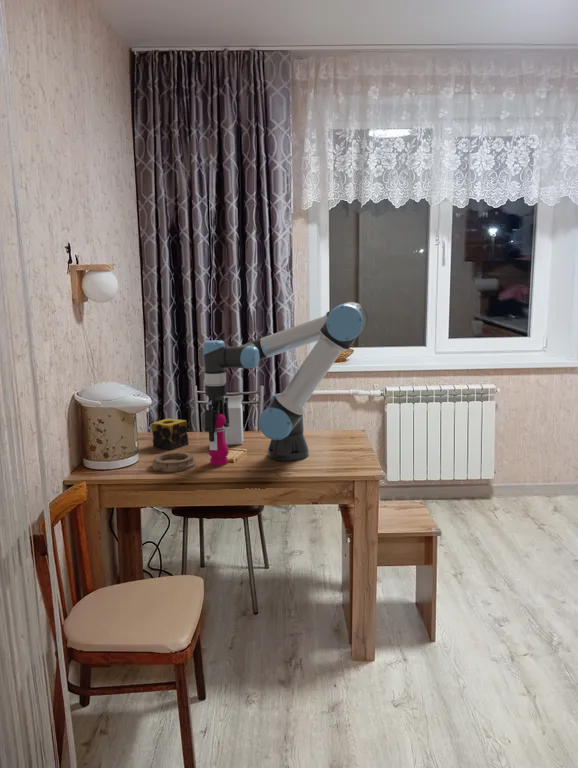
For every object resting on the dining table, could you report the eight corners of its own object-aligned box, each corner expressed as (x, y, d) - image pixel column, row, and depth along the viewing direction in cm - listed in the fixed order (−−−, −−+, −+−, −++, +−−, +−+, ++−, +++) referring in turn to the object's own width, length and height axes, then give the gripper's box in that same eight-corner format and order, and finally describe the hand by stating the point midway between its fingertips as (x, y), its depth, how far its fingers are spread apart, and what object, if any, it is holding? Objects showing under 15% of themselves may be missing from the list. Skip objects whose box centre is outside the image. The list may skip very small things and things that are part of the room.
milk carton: (242, 444, 270) (240, 397, 267) (224, 445, 270) (222, 398, 267) (243, 440, 277) (241, 394, 274) (226, 440, 277) (224, 394, 274)
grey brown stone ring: (202, 461, 248) (202, 453, 248) (180, 473, 235) (180, 465, 234) (167, 458, 254) (167, 449, 253) (144, 469, 240) (143, 461, 240)
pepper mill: (225, 466, 242) (223, 411, 238) (206, 465, 243) (203, 411, 240) (231, 460, 249) (229, 407, 245) (212, 459, 250) (210, 406, 247)
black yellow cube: (189, 444, 273) (187, 420, 271) (171, 450, 264) (170, 425, 263) (169, 441, 278) (168, 417, 276) (152, 447, 270) (151, 422, 268)
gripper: (219, 379, 251) (222, 439, 255) (192, 388, 234) (195, 453, 238) (237, 380, 248) (239, 441, 252) (211, 389, 231) (214, 455, 235)
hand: (218, 447), depth 245 cm, fingers closed on pepper mill, 6 cm apart
